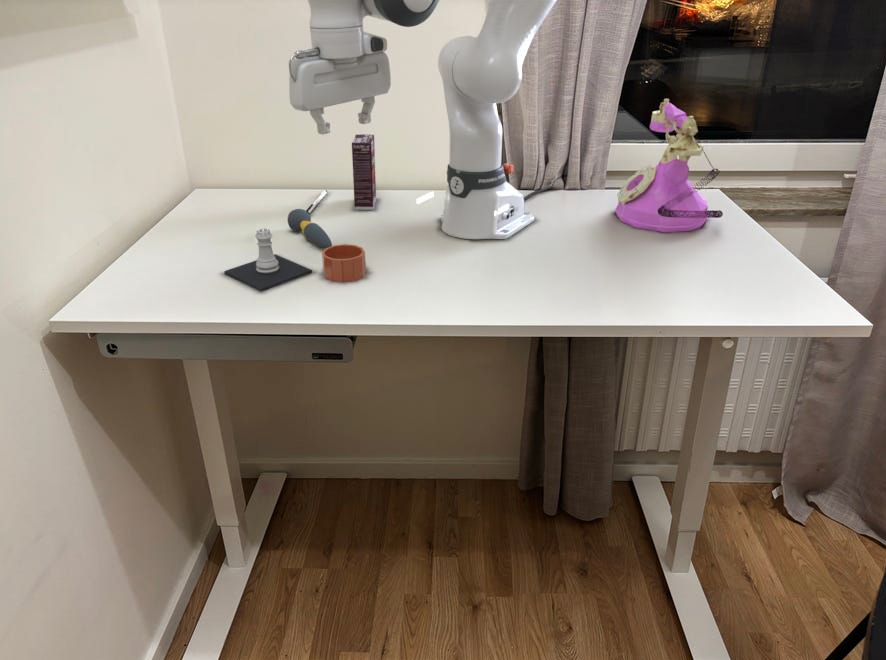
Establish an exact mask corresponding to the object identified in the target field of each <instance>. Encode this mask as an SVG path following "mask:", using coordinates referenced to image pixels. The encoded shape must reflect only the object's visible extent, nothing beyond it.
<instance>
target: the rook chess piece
mask: <svg viewBox="0 0 886 660" xmlns="http://www.w3.org/2000/svg"><path fill="white" fill-rule="evenodd" d="M254 238H255V239H256V240H257V243H256V245H257V246H258V257H257V259H256V260H257V262H256V266H257V268H256V270H257V271H258V272H259V273H261V274H272V273H275V272H277V271H278V269H279V266H278V260H277V259H275V256H274V254H275V253H274V251H273V248H272V244H273V242H272V240H271V239H272V238H273V233H271V230H270V229H269V228H264V229H262V228H259V229H257V230H256V234H255V235H254Z"/></svg>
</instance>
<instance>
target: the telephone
mask: <svg viewBox="0 0 886 660" xmlns="http://www.w3.org/2000/svg"><path fill="white" fill-rule="evenodd" d="M694 117H695V116H693V115H689V116H688V115H687V113H686V112H685V111H683V110H681V109H680V108H677V106H676V105H674V104H673V103H671V102H670V99H669V98H664V99H663V102H660V105H659V110H654V111H652V114H651V119H650V124H649V129H650V131H652V132H657V133H665V140H666V142H667V144H668V145H667V147H666V148H665V150H664V152H663V153H662V156H661V158H660V160H659V162H658V164H657V165H656V166H655V167H654V166H653V165H651V164H649V165H647V166H645V167H643V168H641V169H639V170H637V171H636V172H634V173H633V175H632V176H630V177H629V178H627V180H626V181H625V182H624V183H623V185H622V186H621V187H620V189H619V191H618V192H617V201H618V203H617V205H616V208H615V214H616V216H617V218H618V219H619V221H620V222H622V223H624V224H627V225H629V226H631V227H633V228H635V229H636V228H637V229H643V230H648V231H653V232H661V233H679V232H691V231H694V230H697V229H700V228H701V227H702V226H703V225H704V224H705V223H706V222H707V220H708V219H711V218H712V219H718V218H719V219H720V218H722V216H723V215H724V212H723V211H722V210H720V209H719V210H715V209H714V210H708V208H709V206H708V203H707V201H706V199H705V198H704V197H703V196H702V195H701V194H700V193H699V191H700V190H702V189H703V186H704V187H706V186H707V185H708V184H711V183H710V182H712V181H713V180H714V179H715V178H717V176H718V174H720V170H719V169H718V168H714V166H713V165H712V163H711V161H710V160H709V158H708V156H707V154H706V152H705V151H704V146H703V145H701V143H700V141H699V139H698V137H697V133H698V132H699V130H698V125H697V121H696V120H695V119H694ZM673 131H675V133H677V134H676V135H670V133H671V132H673ZM694 136H695V137H696V138H695V137H694ZM702 153H703V154H704V155H705V158H706V159H707V161H708V163H709V165H710V167H711V168H712V169H711V170H710V172H708V174H707V175H706V176H705V177H704V178H701V180H699V181H698V182H696V184H695V185H694V186H693V185H692V183H691V182H690V180H689V176H690V167H689V165H688V162H689V160H690V158H692V157H697V156H701V155H702ZM697 187H698V188H697ZM695 188H697V189H695Z"/></svg>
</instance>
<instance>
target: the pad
mask: <svg viewBox="0 0 886 660" xmlns="http://www.w3.org/2000/svg"><path fill="white" fill-rule="evenodd" d="M273 254H274V256H275V259H277V260H278V266H279V269H278V271H277V272H275V273H272V274H261V273H259V272H258V271H257V270H256V268H257V266H256V262H257V260H258V259H255V260H253V261H250V262H248V263H244V264H242V265H238V266H236V267H233V268H230V269H227V270H224V275H226V276H228V277H230V278H231V279H234V280H235V281H239V282H241V283H243V285H244V284H245V285H247V286H249V287H251V288H252V289H254V290H257V291H259V292H264V291H266V290H269V289H272V288H275V287H278V286H281V285H283V284H285V283H288V282H292V281H294V280H297V279H299V278H302V277H304V276H307V275H310V274H313V269H311V268H308V267H307V266H304V265H301V264H298V263H296V262H295V261H292V260H289V259H287V258H285V257H284V256H283V257H282V256H281V255H279V254H276V253H273Z"/></svg>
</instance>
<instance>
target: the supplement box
mask: <svg viewBox="0 0 886 660" xmlns="http://www.w3.org/2000/svg"><path fill="white" fill-rule="evenodd" d="M375 150H376V149H375V134H364V133H363V134H355V135H354V139H353V141H352V142H351V157H352V159H351V161H352V180H353V181H352V182H353V205H354V206H353V207H354V211H374V209H375V204H376V201H377V180H376V155H375V153H376V152H375Z"/></svg>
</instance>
